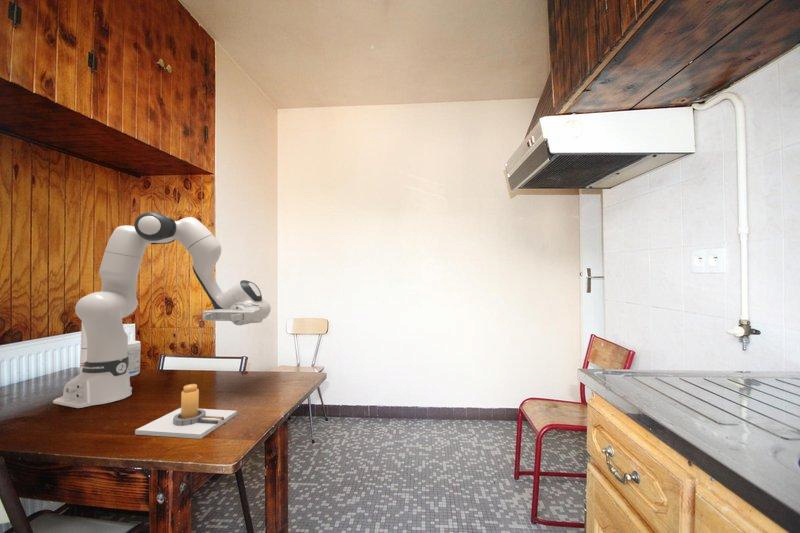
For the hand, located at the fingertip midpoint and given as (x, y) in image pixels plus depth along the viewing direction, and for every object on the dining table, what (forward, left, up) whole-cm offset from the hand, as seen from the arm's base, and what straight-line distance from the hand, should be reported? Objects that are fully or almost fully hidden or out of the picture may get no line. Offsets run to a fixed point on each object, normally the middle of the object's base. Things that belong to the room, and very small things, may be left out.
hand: (217, 317), depth 113 cm
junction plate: (+2, -14, -30) cm, 33 cm away
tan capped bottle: (+2, -14, -29) cm, 32 cm away
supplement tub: (-64, +27, -30) cm, 76 cm away
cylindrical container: (-80, +25, -30) cm, 89 cm away
